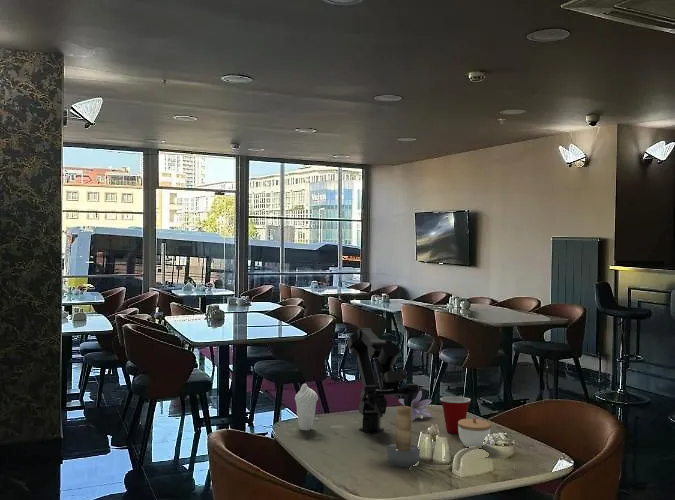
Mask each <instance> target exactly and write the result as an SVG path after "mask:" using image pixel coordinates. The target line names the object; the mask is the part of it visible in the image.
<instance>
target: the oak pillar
mask: <svg viewBox="0 0 675 500" xmlns="http://www.w3.org/2000/svg"><path fill="white" fill-rule="evenodd" d="M411 412H412V408H411V407H408V406H404V405H399V406H398V405H397V407H396V423H395V425H396V429H395V430H396V431H395V436H396V437H395V444H396V449H397V450H400V451H409V450H410V449H411V445H412V421H411Z"/></svg>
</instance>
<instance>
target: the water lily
mask: <svg viewBox="0 0 675 500" xmlns="http://www.w3.org/2000/svg"><path fill="white" fill-rule="evenodd" d="M422 395H423V391H422V390H420V391H419V393H418V395H417V397H416V399H414V400H413V401H412V402H411V408H412V412H411V422H412V421H415V419H416V416H418V417H419V418H420V419H423V418H424V416H425V417H428V418H430V417H432V418H433V416H432V414H431V413H430V412H429V411H428V409H427V408H426V407H425V406H427V405H429V404H431V402H432V401H433V400H432V399H423V400H421V398H422V397H423V396H422ZM398 402H399V403H400V404H401V405H402V406H405V404H404V398H399V399H398Z"/></svg>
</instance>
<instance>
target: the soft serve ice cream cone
mask: <svg viewBox="0 0 675 500" xmlns="http://www.w3.org/2000/svg"><path fill="white" fill-rule="evenodd" d="M294 400H295V405H296V416H297V421H298V428H299V429H300V431H311V430H312V429H313V423H314V419H315V416H316V406H317V402H318V400H319V396H318V394H317V393H316V391H315V390H313V389H312V388H310V387H309V386H308V384H307V383H303V384H301V386H300V390H298V392H297V393H296V394H295V397H294ZM310 429H311V430H310Z"/></svg>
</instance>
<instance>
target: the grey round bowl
mask: <svg viewBox="0 0 675 500" xmlns="http://www.w3.org/2000/svg"><path fill="white" fill-rule="evenodd" d="M418 448H419V447H418V446H417V445H415V444H411V449H410V450H409V451H400V450H397V449H396V443H391V444H389V445H387V447H386V463H387V464H388V465H391V466H394V467H397V468H412V467H411V466H413V465H415V464H416V463H417V462H418V461H419V457H420V453H421V452H420V451H421V449H420V448H419V449H418ZM420 458H421V457H420Z"/></svg>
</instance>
